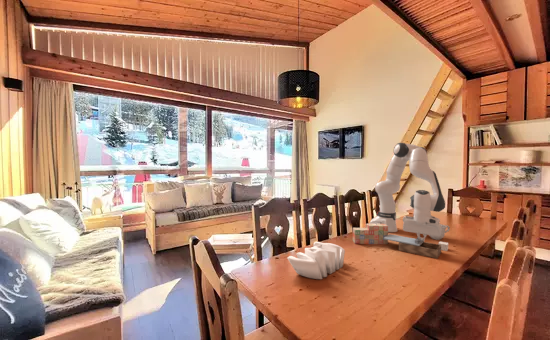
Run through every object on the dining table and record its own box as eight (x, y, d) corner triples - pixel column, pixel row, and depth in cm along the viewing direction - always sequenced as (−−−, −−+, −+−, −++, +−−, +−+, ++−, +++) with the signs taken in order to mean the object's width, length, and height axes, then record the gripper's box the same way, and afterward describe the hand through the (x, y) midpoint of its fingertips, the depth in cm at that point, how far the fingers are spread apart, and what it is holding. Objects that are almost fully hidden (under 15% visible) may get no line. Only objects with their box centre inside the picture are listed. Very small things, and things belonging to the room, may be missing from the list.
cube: (438, 250, 152) (438, 243, 152) (439, 248, 156) (439, 241, 156) (447, 252, 149) (447, 244, 149) (448, 250, 153) (448, 242, 153)
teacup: (455, 242, 167) (455, 227, 166) (432, 242, 167) (432, 227, 167) (443, 236, 179) (443, 223, 178) (422, 237, 179) (422, 223, 179)
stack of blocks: (354, 243, 166) (354, 225, 165) (352, 240, 172) (352, 223, 172) (388, 244, 164) (388, 225, 164) (384, 241, 170) (384, 223, 170)
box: (441, 253, 147) (441, 245, 147) (437, 259, 138) (437, 250, 138) (404, 245, 161) (404, 238, 161) (398, 251, 152) (398, 242, 152)
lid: (423, 241, 153) (423, 237, 153) (419, 246, 145) (419, 241, 145) (389, 235, 166) (389, 231, 166) (383, 239, 158) (383, 234, 158)
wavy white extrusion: (310, 285, 111) (310, 262, 110) (284, 273, 123) (284, 252, 123) (351, 263, 135) (351, 243, 134) (326, 255, 147) (326, 237, 146)
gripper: (401, 216, 153) (401, 238, 153) (441, 221, 139) (440, 246, 140) (404, 214, 158) (404, 236, 158) (443, 219, 144) (442, 243, 144)
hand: (421, 240), depth 149 cm, fingers closed
